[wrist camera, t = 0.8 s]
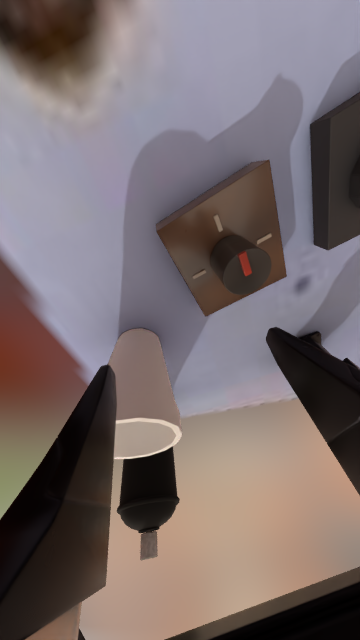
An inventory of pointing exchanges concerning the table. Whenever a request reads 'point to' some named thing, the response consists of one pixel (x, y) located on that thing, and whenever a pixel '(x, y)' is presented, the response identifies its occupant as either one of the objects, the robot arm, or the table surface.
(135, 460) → the aerosol can
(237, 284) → the dial
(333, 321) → the table surface
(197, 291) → the dial panel
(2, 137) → the table surface
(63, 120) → the table surface
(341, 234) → the push button box
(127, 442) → the foam cup
